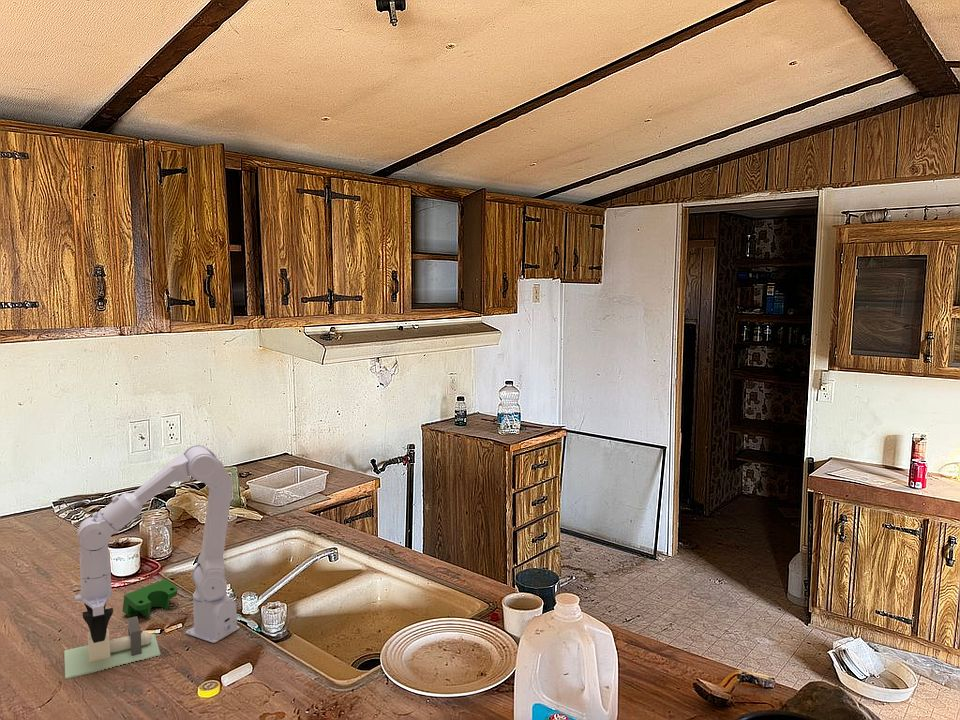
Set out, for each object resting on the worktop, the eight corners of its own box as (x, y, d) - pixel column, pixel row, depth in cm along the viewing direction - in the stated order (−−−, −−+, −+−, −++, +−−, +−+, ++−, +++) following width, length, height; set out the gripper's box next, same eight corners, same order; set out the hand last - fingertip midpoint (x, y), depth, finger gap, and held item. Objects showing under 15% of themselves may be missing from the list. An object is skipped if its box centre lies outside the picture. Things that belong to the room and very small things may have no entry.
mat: (153, 631, 161) (153, 630, 161) (160, 655, 151) (160, 654, 151) (64, 652, 151) (64, 650, 151) (65, 679, 141) (65, 677, 141)
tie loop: (138, 638, 157) (137, 616, 156) (141, 653, 151) (140, 630, 150) (128, 640, 156) (127, 618, 155) (131, 656, 150) (130, 632, 149)
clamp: (142, 635, 167) (131, 612, 162) (128, 623, 170) (117, 600, 165) (184, 601, 176) (176, 578, 170) (170, 590, 178) (161, 567, 173)
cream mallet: (150, 638, 157) (149, 618, 156) (152, 647, 153) (152, 625, 153) (88, 653, 150) (87, 632, 150) (89, 662, 147) (88, 640, 146)
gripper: (73, 564, 151) (75, 623, 153) (74, 590, 139) (77, 653, 141) (109, 558, 155) (111, 615, 157) (114, 583, 143) (116, 644, 144)
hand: (98, 633), depth 149 cm, fingers open, 7 cm apart
